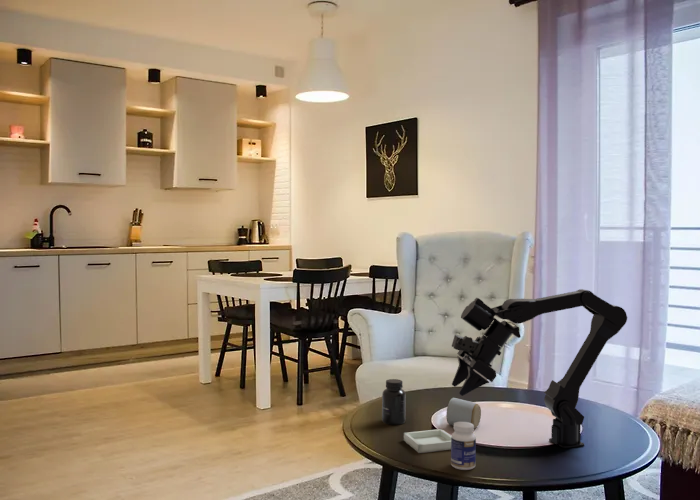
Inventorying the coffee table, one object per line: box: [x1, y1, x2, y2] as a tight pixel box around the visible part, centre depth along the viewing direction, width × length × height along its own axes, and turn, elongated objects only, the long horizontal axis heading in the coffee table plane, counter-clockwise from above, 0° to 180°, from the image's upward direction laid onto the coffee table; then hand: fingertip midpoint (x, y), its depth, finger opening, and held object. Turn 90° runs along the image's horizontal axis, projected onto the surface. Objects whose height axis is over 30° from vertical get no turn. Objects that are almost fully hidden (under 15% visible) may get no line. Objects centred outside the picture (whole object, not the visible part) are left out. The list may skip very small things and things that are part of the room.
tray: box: [403, 428, 452, 454], centre depth 162 cm, size 11×10×2 cm
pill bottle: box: [450, 422, 477, 471], centre depth 147 cm, size 6×6×10 cm
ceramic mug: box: [446, 397, 482, 429], centre depth 179 cm, size 11×8×8 cm
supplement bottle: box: [381, 378, 407, 426], centre depth 182 cm, size 7×7×12 cm
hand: (456, 390), depth 162 cm, fingers open, 9 cm apart
